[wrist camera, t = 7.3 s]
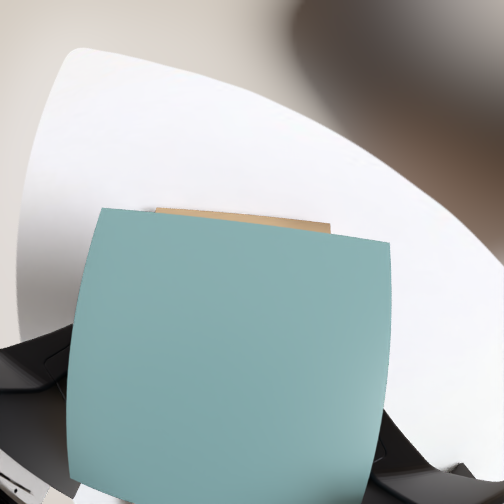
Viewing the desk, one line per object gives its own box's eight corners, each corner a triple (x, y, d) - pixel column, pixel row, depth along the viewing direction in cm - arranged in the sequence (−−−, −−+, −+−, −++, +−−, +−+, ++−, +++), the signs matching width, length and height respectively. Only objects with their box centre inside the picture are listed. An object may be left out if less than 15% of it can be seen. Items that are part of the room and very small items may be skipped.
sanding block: (280, 418, 13) (376, 550, 2) (173, 404, 13) (45, 507, 2) (293, 298, 16) (415, 185, 4) (188, 285, 16) (92, 146, 4)
